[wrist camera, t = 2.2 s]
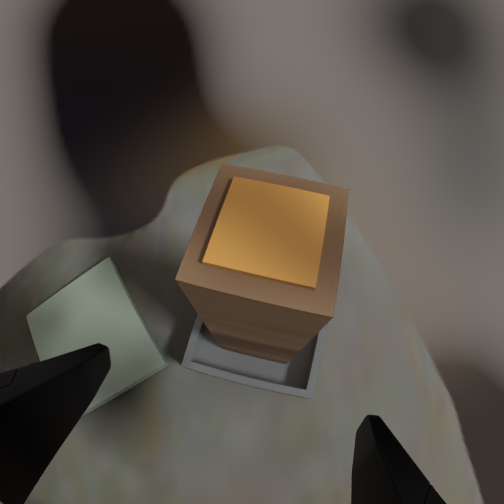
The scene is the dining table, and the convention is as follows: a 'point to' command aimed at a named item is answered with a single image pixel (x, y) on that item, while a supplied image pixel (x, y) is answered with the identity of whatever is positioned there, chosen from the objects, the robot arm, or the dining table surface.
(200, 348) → the grey square tray
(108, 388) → the sage pad
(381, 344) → the dining table surface
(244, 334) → the walnut box
